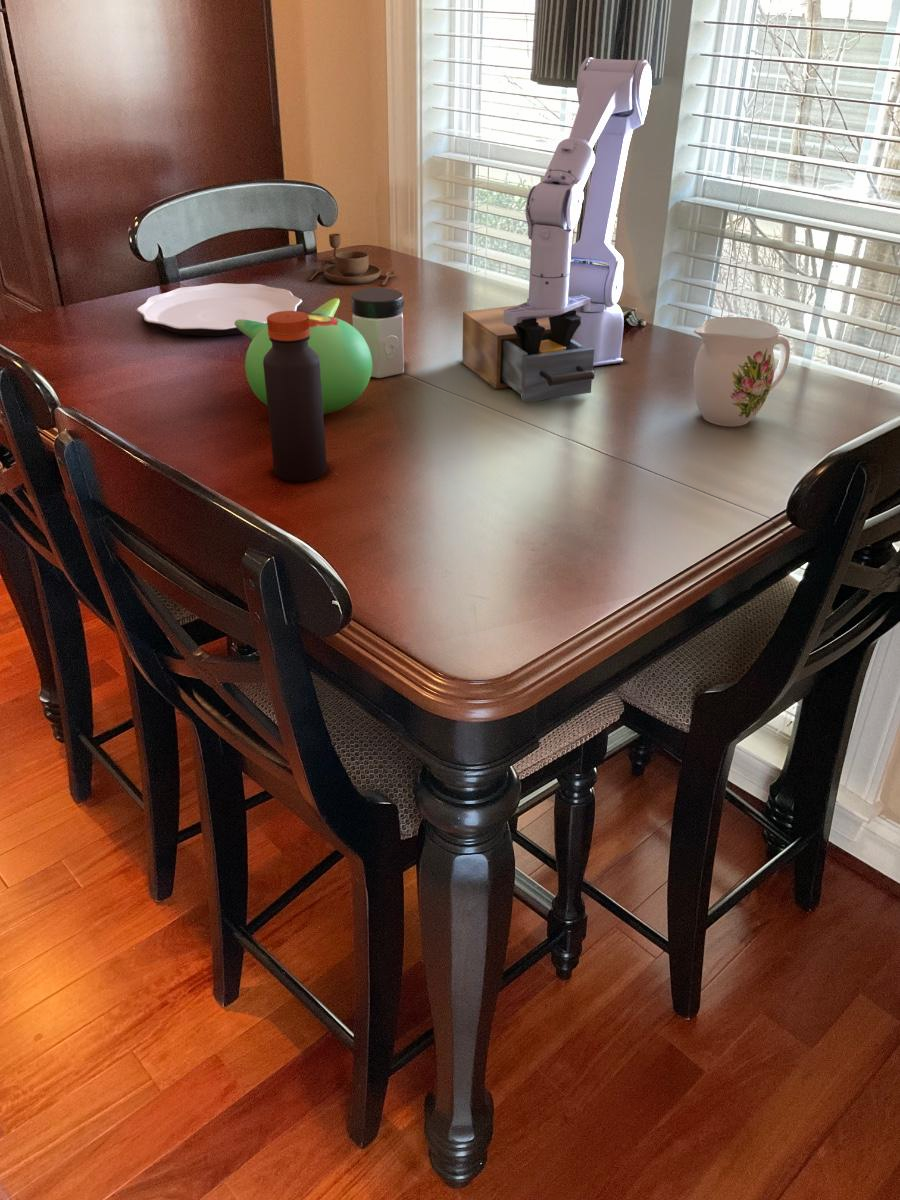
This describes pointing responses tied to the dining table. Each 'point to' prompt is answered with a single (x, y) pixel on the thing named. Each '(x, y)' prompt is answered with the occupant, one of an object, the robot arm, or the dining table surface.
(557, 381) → the grey wooden drawer
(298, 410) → the bottle
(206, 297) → the plate
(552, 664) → the dining table surface
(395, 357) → the jar
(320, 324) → the toy bird
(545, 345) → the block
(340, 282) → the place setting
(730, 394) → the pitcher
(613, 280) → the robot arm
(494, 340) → the wooden drawer box
